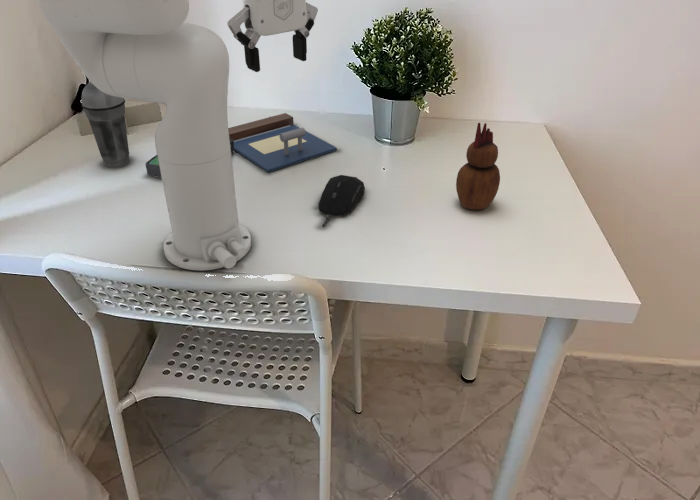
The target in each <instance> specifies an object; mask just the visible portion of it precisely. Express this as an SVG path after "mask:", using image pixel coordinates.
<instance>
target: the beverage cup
mask: <svg viewBox="0 0 700 500" xmlns="http://www.w3.org/2000/svg"><path fill="white" fill-rule="evenodd" d="M125 99H126V98H121V97H115V96H111V95H108V94H106V93H104V92H102V91H100V90H99V89H98V88H96V87H95V86H94V85H93V84H92V83H91V82H90V81H89V82H88V83H87V84H86V85H85V86H84V88H83V89H82V92H81V108H82V109H83V113H84V114H85V116H86V118H87V119H88V123H89V125H90V128H91V131H92V134H93V137H94V140H95V143H96V145H97V149H98V151H99V154H100V157H101V159H102V161H103V164H104V166H105V167H106V168H110V169H118V168H122V167H125V166H127V165H129V164H130V162H131V161H130V149H129V148H130V147H129V141H128V133H127V132H128V131H127V123H126V116H125V113H126V105H125V103H126V100H125Z"/></svg>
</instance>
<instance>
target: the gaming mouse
mask: <svg viewBox="0 0 700 500" xmlns="http://www.w3.org/2000/svg"><path fill="white" fill-rule="evenodd" d="M365 190H366V187H365V183H364V182H363V181H362V180H361V179H359V178H358V177H357V176H351V175H345V174H339V175H336V176H333V177H331V178H329V179H328V181H327V183H326V184H325V186H324V189H323V190H322V193H321V196H320V199H319V201H318V205H317V207H318V211H319V212H320V213H322V214H324V215H326V217H325V219H324V221H323V223H322V224H321V226H322V227H323V228H325V227H326V225H327V223H328V222H329V221H330V219H331V217H344V216H346V215H348V214H351V212H352V211H353V210H354V209H355V207H356V206H357V205H358V204H359V202H361V200H362V198H363V197H364V195H365V192H366V191H365Z"/></svg>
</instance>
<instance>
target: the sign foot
mask: <svg viewBox="0 0 700 500" xmlns="http://www.w3.org/2000/svg"><path fill="white" fill-rule="evenodd" d="M294 123H295V122H294V116H292V115H290V114H288V113H287V112H284V113H280V114H276V115H272V116H269V117H264V118H260V119H257V120H254V121H250V122H246V123H243V124H239V125H234V126H231V127H228V130H229V139H233V141H235V140H239V139H242V138H246V137H249V136H253V135H256V134H260V133H264V132H267V131H271V130H274V129H278V128H281V127H285V126H289V125H290V126H293V125H295V124H294Z"/></svg>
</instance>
